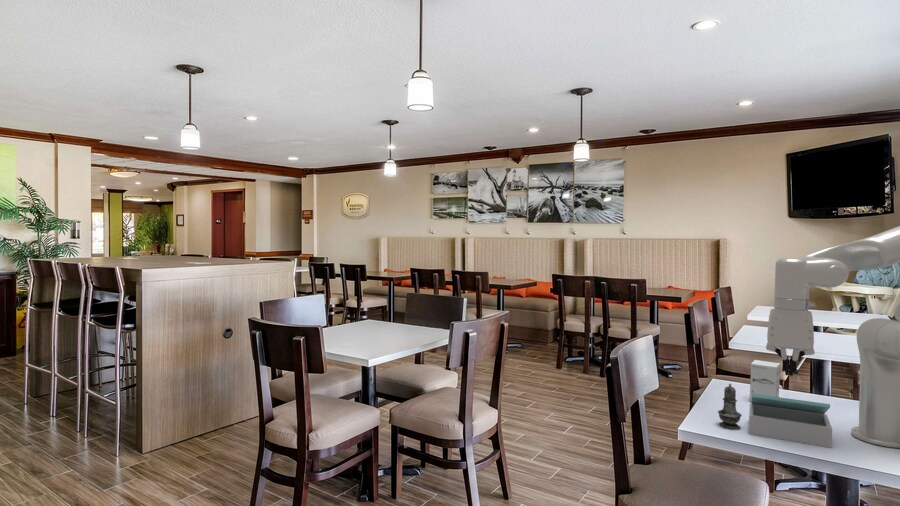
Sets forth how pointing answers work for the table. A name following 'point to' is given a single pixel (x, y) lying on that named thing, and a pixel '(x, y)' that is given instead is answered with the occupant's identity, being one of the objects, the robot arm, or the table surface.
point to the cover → (790, 404)
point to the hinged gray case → (790, 425)
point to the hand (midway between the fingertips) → (788, 374)
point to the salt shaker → (729, 409)
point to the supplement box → (764, 378)
